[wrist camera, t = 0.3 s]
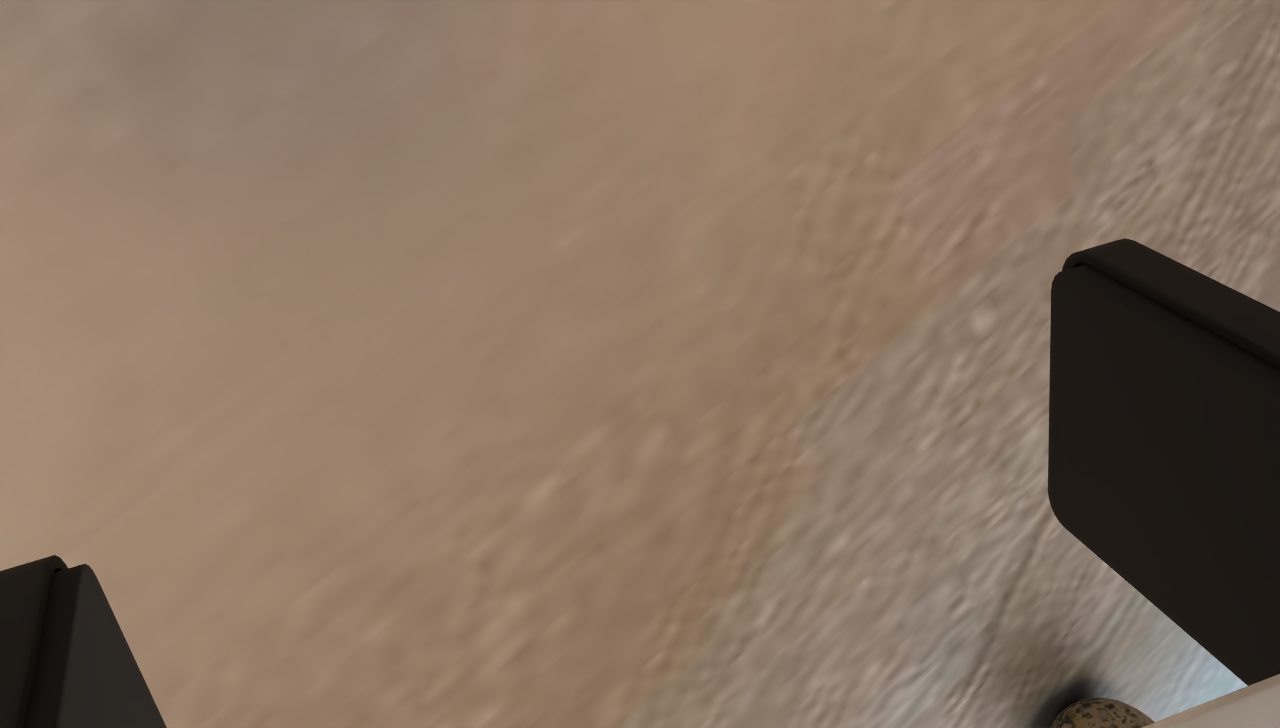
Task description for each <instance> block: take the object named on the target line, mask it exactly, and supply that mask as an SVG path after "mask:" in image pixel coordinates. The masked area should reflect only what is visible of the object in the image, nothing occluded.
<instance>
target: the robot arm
mask: <svg viewBox="0 0 1280 728" xmlns="http://www.w3.org/2000/svg"><path fill="white" fill-rule="evenodd" d="M1048 495H1049V500H1050V504H1051V507H1052V509H1053V512H1054V514H1055V516H1056V517H1057V519H1058V520H1059V522H1060V523H1061V524H1062V525H1063V526H1064V527H1065V528H1066V529H1067V530H1068V531H1069V532H1070V533H1072V534H1073V535H1074V536H1075V537H1076V538H1077V539H1079V540H1080V541H1081V542H1082V543H1083V544H1084V545H1086V546H1087V547H1088V548H1089V549H1090V550H1091V551H1092V552H1094V553H1095V554H1096V555H1097V556H1098V557H1099V558H1101V559H1102V560H1103V561H1104V562H1105V563H1106V564H1108V565H1109V566H1110V567H1111V568H1112V569H1113V570H1114V571H1116V572H1117V573H1118V574H1119V575H1120V576H1121V577H1123V578H1124V579H1125V580H1126V581H1127V582H1128V583H1130V584H1131V585H1132V586H1133V587H1134V588H1135V589H1137V590H1138V591H1139V592H1140V593H1141V594H1142V595H1143V596H1145V597H1146V598H1147V599H1148V600H1149V601H1150V602H1152V603H1153V604H1154V605H1155V606H1156V607H1157V608H1159V609H1160V610H1161V611H1162V612H1163V613H1164V614H1165V615H1167V616H1168V617H1169V618H1170V619H1171V620H1172V621H1174V622H1175V623H1176V624H1177V625H1178V626H1179V627H1181V628H1182V629H1183V630H1184V631H1185V632H1186V633H1187V634H1189V635H1190V636H1191V637H1192V638H1193V639H1194V640H1196V641H1197V642H1198V643H1199V644H1200V645H1201V646H1203V647H1204V648H1205V649H1206V650H1207V651H1208V652H1210V653H1211V654H1212V655H1213V656H1214V657H1215V658H1216V659H1218V660H1219V661H1220V662H1221V663H1222V664H1223V665H1225V666H1226V667H1227V668H1228V669H1229V670H1230V671H1232V672H1233V673H1234V674H1235V675H1236V676H1237V677H1238V678H1240V679H1241V680H1242V681H1243V682H1244V683H1245V684H1247V685H1248V686H1247V687H1245V688H1242V689H1240V690H1237V691H1235V692H1232V693H1229V694H1227V695H1224V696H1222V697H1219V698H1217V699H1214V700H1212V701H1209V702H1206V703H1204V704H1201V705H1199V706H1196V707H1194V708H1191V709H1188V710H1186V711H1183V712H1181V713H1178V714H1176V715H1173V716H1171V717H1168V718H1165V719H1163V720H1160V721H1158V722H1155V723H1153V724H1150V725H1148V726H1145V727H1142V728H1280V312H1278V311H1276V310H1274V309H1272V308H1270V307H1268V306H1266V305H1264V304H1262V303H1260V302H1258V301H1256V300H1254V299H1252V298H1250V297H1248V296H1246V295H1244V294H1242V293H1240V292H1238V291H1236V290H1233V289H1231V288H1229V287H1227V286H1225V285H1223V284H1221V283H1219V282H1217V281H1215V280H1213V279H1211V278H1209V277H1207V276H1205V275H1203V274H1201V273H1199V272H1197V271H1195V270H1193V269H1191V268H1189V267H1187V266H1185V265H1183V264H1180V263H1178V262H1176V261H1174V260H1172V259H1170V258H1168V257H1166V256H1164V255H1162V254H1160V253H1158V252H1156V251H1154V250H1152V249H1150V248H1148V247H1146V246H1144V245H1142V244H1140V243H1138V242H1136V241H1133V240H1129V239H1126V238H1125V239H1121V240H1116V241H1113V242H1110V243H1106V244H1103V245H1099V246H1096V247H1093V248H1089V249H1086V250H1083V251H1079V252H1076V253H1073V254H1071V255H1070V256H1069V257H1068V258H1067V259H1066V261H1065V263H1064V266H1063V269H1062V271H1061V272H1059V273H1058V274H1057V275H1056V276H1055V277H1054V280H1053V282H1052V289H1051V338H1050V400H1049V461H1048ZM0 728H166V725H165V723H164V721H163V719H162V717H161V715H160V713H159V710H158V708H157V706H156V704H155V702H154V700H153V697H152V695H151V693H150V691H149V689H148V687H147V685H146V682H145V680H144V678H143V676H142V674H141V672H140V670H139V667H138V665H137V663H136V661H135V659H134V657H133V654H132V652H131V650H130V648H129V646H128V644H127V642H126V639H125V637H124V635H123V633H122V631H121V629H120V626H119V624H118V622H117V620H116V618H115V616H114V614H113V611H112V609H111V607H110V605H109V603H108V601H107V598H106V596H105V594H104V592H103V590H102V588H101V586H100V583H99V581H98V579H97V577H96V575H95V574H94V572H93V570H92V569H91V568H90V567H89V566H88V565H87V564H83V565H79V566H76V567H73V568H69V569H68V567H67V566H66V564H65V563H64V562H63V561H62V559H61V558H60V557H58V556H56V555H53V556H50V557H47V558H43V559H40V560H37V561H33V562H30V563H26V564H23V565H20V566H16V567H13V568H10V569H6V570H3V571H0Z"/></svg>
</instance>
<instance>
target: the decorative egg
mask: <svg viewBox="0 0 1280 728" xmlns="http://www.w3.org/2000/svg"><path fill="white" fill-rule="evenodd" d="M1153 723H1155V722H1154V721H1153V720H1152V719H1150V718H1149V717H1148V716H1146V715H1145V714H1144V713H1142V712H1141V711H1139V710H1137V709H1136V708H1134V707H1132V706H1130V705H1128V704H1125V703H1123V702H1120V701H1117V700H1113V699H1107V698H1089V699H1084V700H1080V701H1077V702H1075V703H1073V704H1071V705H1069V706H1068V707H1066V708H1065V709H1064V710H1063V711H1062V712H1061V713H1060V714H1059V715H1058V716H1057V717H1056V719H1055V720H1054V722H1053V724H1052V726H1051V728H1142V727H1145V726H1148V725H1150V724H1153Z"/></svg>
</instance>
